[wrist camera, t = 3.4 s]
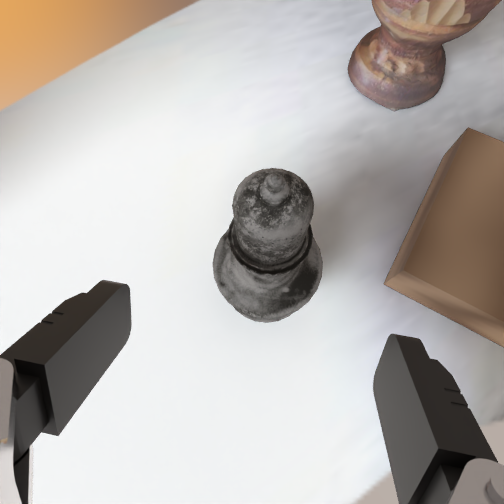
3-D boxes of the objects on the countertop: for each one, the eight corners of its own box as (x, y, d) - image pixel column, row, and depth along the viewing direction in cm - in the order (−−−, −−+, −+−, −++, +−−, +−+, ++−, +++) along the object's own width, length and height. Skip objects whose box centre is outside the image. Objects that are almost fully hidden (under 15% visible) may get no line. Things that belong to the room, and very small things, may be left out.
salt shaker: (220, 238, 22) (184, 100, 11) (309, 236, 22) (362, 97, 11) (218, 328, 20) (170, 271, 9) (315, 326, 20) (388, 268, 9)
